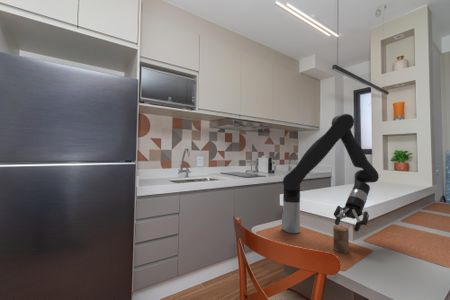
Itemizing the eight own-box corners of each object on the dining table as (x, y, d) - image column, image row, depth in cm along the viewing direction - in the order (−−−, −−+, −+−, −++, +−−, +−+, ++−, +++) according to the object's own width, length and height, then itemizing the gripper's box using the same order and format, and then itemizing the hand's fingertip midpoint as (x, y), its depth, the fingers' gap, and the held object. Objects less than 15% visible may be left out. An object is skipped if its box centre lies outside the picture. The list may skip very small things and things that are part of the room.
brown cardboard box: (333, 249, 96) (333, 225, 96) (337, 247, 98) (337, 224, 98) (344, 254, 92) (344, 229, 92) (348, 252, 94) (348, 227, 94)
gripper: (339, 193, 109) (327, 219, 102) (370, 198, 97) (359, 227, 90) (344, 202, 112) (333, 227, 105) (375, 208, 100) (365, 237, 93)
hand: (345, 227), depth 98 cm, fingers open, 8 cm apart
